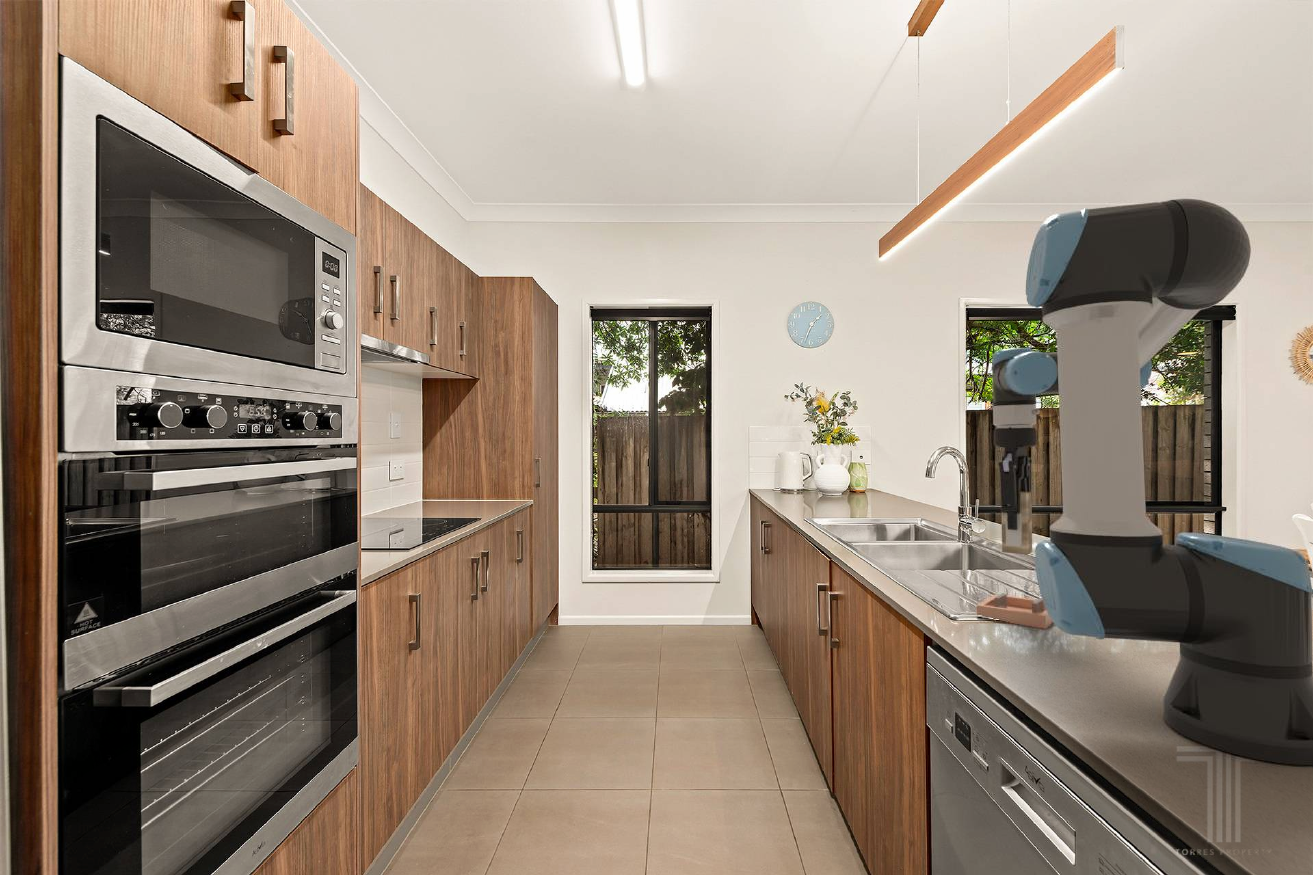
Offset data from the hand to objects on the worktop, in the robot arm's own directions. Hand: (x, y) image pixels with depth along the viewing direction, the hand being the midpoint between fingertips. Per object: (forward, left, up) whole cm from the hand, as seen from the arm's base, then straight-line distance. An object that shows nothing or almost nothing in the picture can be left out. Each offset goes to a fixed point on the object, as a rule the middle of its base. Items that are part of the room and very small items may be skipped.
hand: (1017, 544), depth 127 cm
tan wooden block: (0, 0, -2) cm, 2 cm away
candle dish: (0, 0, -14) cm, 14 cm away
